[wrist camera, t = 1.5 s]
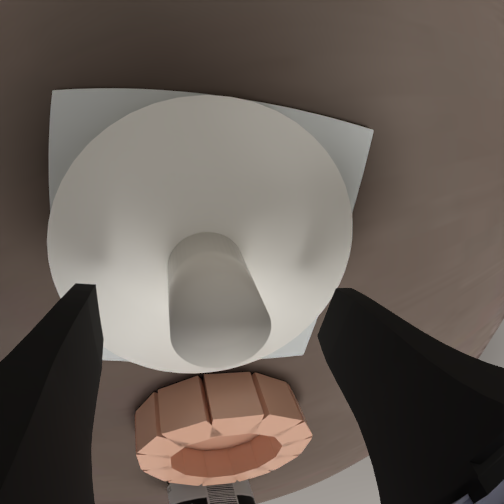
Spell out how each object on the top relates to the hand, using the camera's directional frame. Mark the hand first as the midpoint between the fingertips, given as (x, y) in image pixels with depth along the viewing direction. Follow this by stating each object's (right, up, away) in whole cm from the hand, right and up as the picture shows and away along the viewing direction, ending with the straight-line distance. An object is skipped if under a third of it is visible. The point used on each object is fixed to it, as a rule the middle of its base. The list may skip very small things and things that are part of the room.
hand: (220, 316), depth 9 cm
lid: (-1, +2, +3) cm, 4 cm away
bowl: (-1, -10, +10) cm, 14 cm away
